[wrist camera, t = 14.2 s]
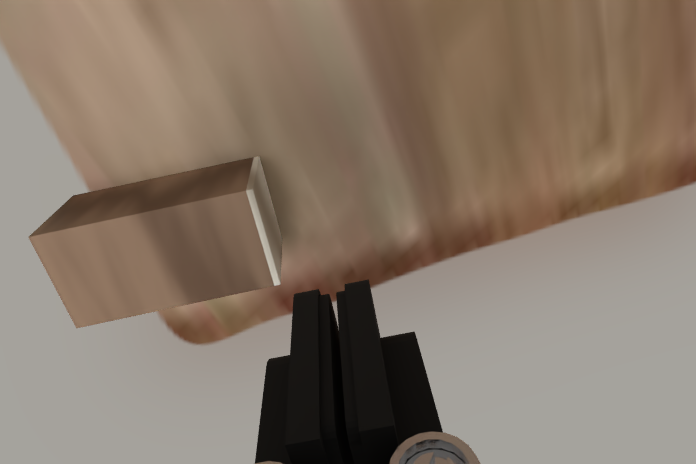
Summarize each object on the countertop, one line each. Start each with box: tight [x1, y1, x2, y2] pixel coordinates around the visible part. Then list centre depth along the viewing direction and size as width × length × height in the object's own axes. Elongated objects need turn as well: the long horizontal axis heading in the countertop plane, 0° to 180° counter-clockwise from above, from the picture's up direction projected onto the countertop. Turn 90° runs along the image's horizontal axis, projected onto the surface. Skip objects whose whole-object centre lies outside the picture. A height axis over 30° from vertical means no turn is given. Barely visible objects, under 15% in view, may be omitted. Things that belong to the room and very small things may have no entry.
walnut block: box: [29, 156, 282, 328], centre depth 25 cm, size 5×5×10 cm
